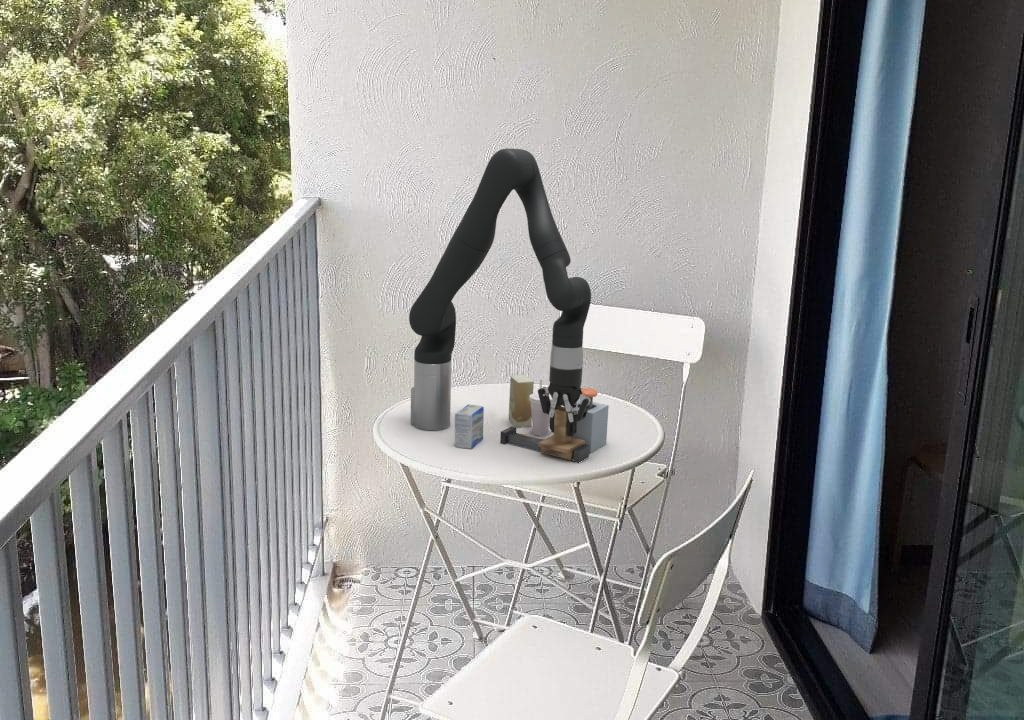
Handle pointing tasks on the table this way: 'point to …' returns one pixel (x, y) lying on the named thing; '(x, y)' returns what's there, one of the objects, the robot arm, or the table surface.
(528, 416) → the skincare box
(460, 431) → the medicine box
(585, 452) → the rail
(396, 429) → the table surface
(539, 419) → the smoothie
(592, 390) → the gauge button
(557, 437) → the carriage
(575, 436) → the grey button box
